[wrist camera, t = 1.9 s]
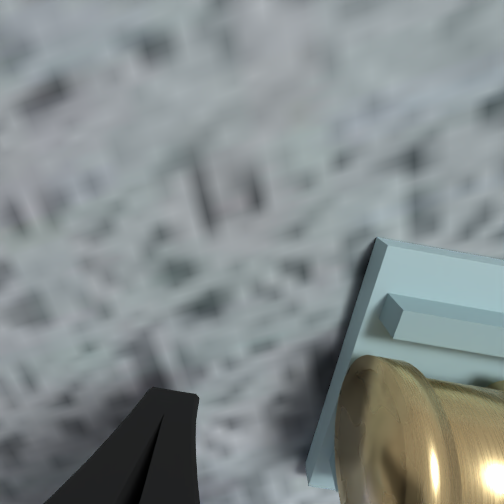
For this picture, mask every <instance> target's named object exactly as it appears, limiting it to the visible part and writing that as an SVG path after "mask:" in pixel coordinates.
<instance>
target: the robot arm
mask: <svg viewBox="0 0 504 504" xmlns="http://www.w3.org/2000/svg"><path fill="white" fill-rule="evenodd" d="M198 404H199V397H198V396H197V395H196V394H192V393H186V392H180V391H173V390H167V389H161V388H155V387H153V388H151V389H149V390H148V391H147V393H146V394H145V395H144V397H143V398H142V399H141V401H140V402H139V403H138V404H137V406H136V407H135V408H134V409H133V411H132V412H131V413H130V414H129V415H128V416H127V418H126V419H125V420H124V421H123V422H122V423H121V425H120V426H119V427H118V428H117V429H116V430H115V431H114V432H113V434H112V435H111V436H110V437H109V438H108V439H107V440H106V441H105V442H104V443H103V444H102V446H101V447H100V448H99V449H98V450H97V451H96V452H95V453H94V454H93V455H92V456H91V457H90V458H89V459H88V460H87V462H86V463H85V464H84V465H83V466H82V467H81V468H80V469H79V470H78V471H77V472H76V473H75V474H74V475H73V476H72V477H71V478H70V479H69V480H68V481H67V482H66V483H65V484H63V485H62V486H61V487H60V488H59V489H58V490H57V491H56V492H55V493H54V494H53V495H52V496H51V497H50V498H49V499H48V500H47V501H46V502H45V503H44V504H200V500H199V491H198V480H197V464H196V417H197V410H198Z"/></svg>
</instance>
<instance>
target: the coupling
mask: <svg viewBox="0 0 504 504" xmlns="http://www.w3.org/2000/svg"><path fill="white" fill-rule="evenodd" d="M334 450H335V468H336V477H337V485H338V491H339V497H340V502H341V504H504V380H503V381H498V382H495V383H492V384H490V385H489V386H487V387H479V386H473V385H467V384H461V383H455V382H448V381H442V380H436V379H430V378H426V377H425V376H424V375H423V374H422V373H421V372H420V371H419V370H418V369H417V368H416V367H414V366H413V365H411V364H410V363H408V362H405V361H402V360H396V359H390V358H384V357H378V356H372V355H363V356H361V357H359V358H358V359H356V360H355V361H354V362H353V364H352V365H351V366H350V368H349V370H348V371H347V373H346V376H345V378H344V381H343V383H342V387H341V390H340V394H339V398H338V404H337V410H336V419H335V436H334Z"/></svg>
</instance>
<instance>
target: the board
mask: <svg viewBox="0 0 504 504" xmlns="http://www.w3.org/2000/svg"><path fill="white" fill-rule="evenodd" d="M363 355H372V356H378V357H384V358H390V359H396V360H402V361H405V362H408V363H410V364H411V365H413V366H414V367H416V368H417V369H418V370H419V371H420V372H421V373H422V374H423V375H424V376H425V377H426V378H430V379H436V380H442V381H448V382H455V383H461V384H467V385H473V386H479V387H487V386H489V385H490V384H492V383H495V382H498V381H503V380H504V260H501V259H496V258H490V257H484V256H479V255H473V254H468V253H462V252H457V251H451V250H446V249H440V248H434V247H429V246H423V245H418V244H412V243H407V242H401V241H395V240H390V239H384V238H379V237H377V238H376V241H375V244H374V248H373V251H372V254H371V257H370V260H369V263H368V267H367V270H366V273H365V276H364V279H363V282H362V286H361V289H360V292H359V295H358V298H357V301H356V305H355V308H354V311H353V314H352V317H351V320H350V324H349V327H348V330H347V333H346V336H345V339H344V343H343V346H342V349H341V352H340V355H339V358H338V362H337V365H336V368H335V371H334V374H333V377H332V381H331V384H330V387H329V390H328V393H327V396H326V400H325V403H324V406H323V409H322V412H321V415H320V419H319V422H318V425H317V428H316V431H315V434H314V438H313V441H312V444H311V447H310V450H309V453H308V457H307V460H306V463H305V465H306V472H307V479H308V486H311V487H318V488H324V489H331V490H336V491H337V492H339V491H338V485H337V477H336V468H335V450H334V436H335V419H336V410H337V404H338V398H339V394H340V390H341V387H342V383H343V381H344V378H345V376H346V373H347V371H348V370H349V368H350V366H351V365H352V364H353V362H354V361H355V360H356V359H358V358H359V357H361V356H363Z"/></svg>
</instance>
